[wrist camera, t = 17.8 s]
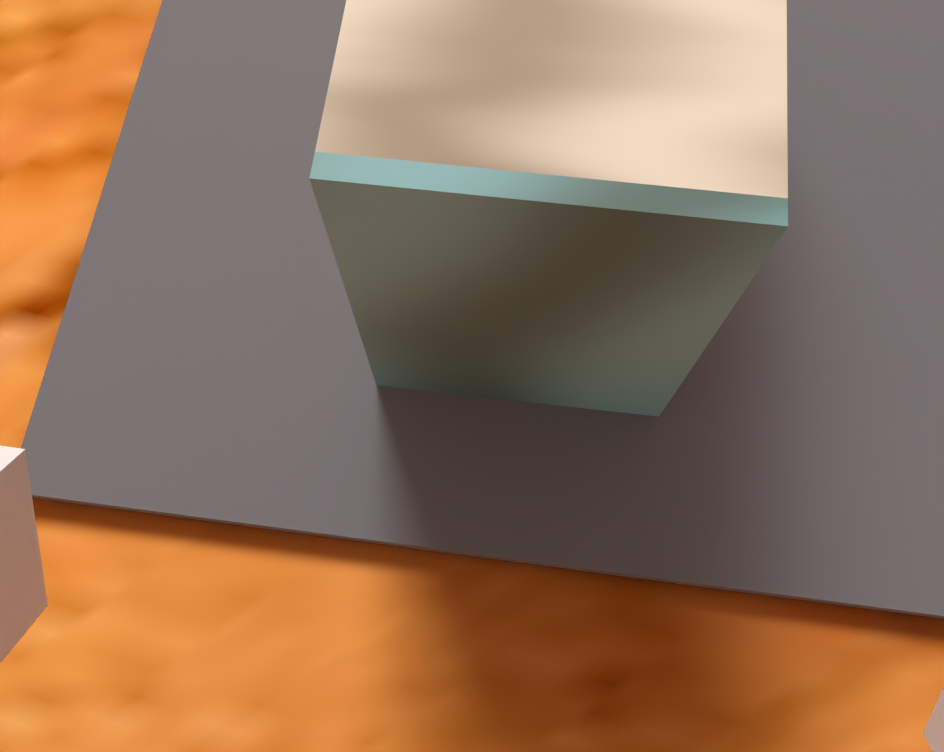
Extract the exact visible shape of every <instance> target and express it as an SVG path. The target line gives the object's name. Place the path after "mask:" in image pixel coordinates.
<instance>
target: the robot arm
mask: <svg viewBox="0 0 944 752" xmlns="http://www.w3.org/2000/svg"><path fill="white" fill-rule="evenodd" d="M46 607H47V598H46V591H45V584H44V577H43V570H42V563H41V556H40V549H39V542H38V535H37V528H36V521H35V514H34V507H33V500H32V493H31V486H30V478H29V471H28V464H27V457H26V450H25V449H21V448H13V447H6V446H0V663H1V662H2V661H3V659H4V658H5V657H6V656H7V655H8V653H9V652H10V651H11V650H12V648H13V647H14V646H15V645H16V644H17V642H18V641H19V640H20V639H21V637H22V636H23V635H24V634H25V633H26V631H27V630H28V629H29V628H30V626H31V625H32V624H33V623H34V622H35V620H36V619H37V618H38V617H39V615H40V614H41V613H42V612H43V610H44V609H45V608H46ZM923 734H924V736H925V738H926V740H927V742H928V744H929V747H930V749H931V751H932V752H944V687H943V690H942V692H941V694H940V696H939V699H938V701H937V703H936V706H935V708H934V710H933V712H932V715H931V717H930V719H929V721H928V724H927V726H926V728H925V731H924V733H923Z"/></svg>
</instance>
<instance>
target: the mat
mask: <svg viewBox="0 0 944 752" xmlns="http://www.w3.org/2000/svg"><path fill="white" fill-rule="evenodd" d="M345 4H346V0H162V3H161V7H160V10H159V13H158V16H157V19H156V22H155V26H154V29H153V32H152V35H151V38H150V41H149V45H148V48H147V51H146V54H145V57H144V60H143V64H142V67H141V70H140V73H139V76H138V79H137V83H136V86H135V89H134V92H133V95H132V98H131V102H130V105H129V108H128V111H127V114H126V117H125V121H124V124H123V127H122V130H121V133H120V136H119V140H118V143H117V146H116V149H115V152H114V155H113V159H112V162H111V165H110V168H109V171H108V174H107V177H106V181H105V184H104V187H103V190H102V193H101V196H100V200H99V203H98V206H97V209H96V212H95V215H94V219H93V222H92V225H91V228H90V231H89V234H88V238H87V241H86V244H85V247H84V250H83V253H82V257H81V260H80V263H79V266H78V269H77V272H76V276H75V279H74V282H73V285H72V288H71V291H70V295H69V298H68V301H67V304H66V307H65V310H64V314H63V317H62V320H61V323H60V326H59V329H58V333H57V336H56V339H55V342H54V345H53V348H52V352H51V355H50V358H49V361H48V364H47V367H46V370H45V374H44V377H43V380H42V383H41V386H40V389H39V393H38V396H37V399H36V402H35V405H34V408H33V412H32V415H31V418H30V421H29V424H28V427H27V431H26V434H25V437H24V440H23V443H22V446H21V449H25V450H26V457H27V464H28V471H29V478H30V486H31V493H32V498H38V499H45V500H53V501H60V502H68V503H76V504H83V505H91V506H98V507H106V508H113V509H121V510H128V511H136V512H143V513H151V514H158V515H166V516H173V517H181V518H188V519H196V520H203V521H211V522H218V523H226V524H233V525H241V526H248V527H256V528H263V529H271V530H278V531H286V532H293V533H301V534H308V535H316V536H324V537H331V538H339V539H346V540H354V541H361V542H369V543H376V544H384V545H391V546H399V547H406V548H414V549H421V550H429V551H436V552H444V553H451V554H459V555H466V556H474V557H481V558H489V559H496V560H504V561H511V562H519V563H526V564H534V565H541V566H549V567H556V568H564V569H572V570H579V571H587V572H594V573H602V574H609V575H617V576H624V577H632V578H639V579H647V580H654V581H662V582H669V583H677V584H684V585H692V586H699V587H707V588H714V589H722V590H729V591H737V592H744V593H752V594H759V595H767V596H774V597H782V598H789V599H797V600H804V601H812V602H820V603H827V604H835V605H842V606H850V607H857V608H865V609H872V610H880V611H887V612H895V613H902V614H910V615H917V616H925V617H932V618H940V619H944V0H787V146H788V227H787V229H786V230H785V231H784V233H783V234H782V236H781V237H780V239H779V240H778V242H777V243H776V245H775V246H774V248H773V249H772V251H771V252H770V254H769V255H768V257H767V258H766V260H765V261H764V262H763V264H762V265H761V267H760V268H759V270H758V271H757V273H756V274H755V276H754V277H753V279H752V280H751V282H750V283H749V285H748V286H747V288H746V289H745V291H744V292H743V293H742V295H741V296H740V298H739V299H738V301H737V302H736V304H735V305H734V307H733V308H732V310H731V311H730V313H729V314H728V316H727V317H726V319H725V320H724V322H723V323H722V324H721V326H720V327H719V329H718V330H717V332H716V333H715V335H714V336H713V338H712V339H711V341H710V342H709V344H708V345H707V347H706V348H705V350H704V351H703V353H702V354H701V355H700V357H699V358H698V360H697V361H696V363H695V364H694V366H693V367H692V369H691V370H690V372H689V373H688V375H687V376H686V378H685V379H684V381H683V382H682V383H681V385H680V386H679V388H678V389H677V391H676V392H675V394H674V395H673V397H672V398H671V400H670V401H669V403H668V404H667V406H666V407H665V409H664V410H663V412H662V413H661V414H660V416H659V417H658V416H649V415H640V414H631V413H622V412H613V411H604V410H595V409H586V408H577V407H568V406H558V405H549V404H540V403H531V402H522V401H513V400H504V399H495V398H486V397H477V396H468V395H459V394H449V393H440V392H431V391H422V390H413V389H404V388H395V387H386V386H377V385H376V383H375V379H374V376H373V373H372V370H371V367H370V364H369V361H368V358H367V355H366V352H365V349H364V345H363V342H362V339H361V336H360V333H359V330H358V327H357V324H356V321H355V318H354V315H353V312H352V308H351V305H350V302H349V299H348V296H347V293H346V290H345V287H344V284H343V281H342V278H341V275H340V271H339V268H338V265H337V262H336V259H335V256H334V253H333V250H332V247H331V244H330V241H329V237H328V234H327V231H326V228H325V225H324V222H323V219H322V216H321V213H320V210H319V207H318V204H317V200H316V197H315V194H314V191H313V188H312V185H311V182H310V179H309V178H310V173H311V168H312V163H313V158H314V153H315V149H316V144H317V139H318V134H319V129H320V125H321V120H322V115H323V110H324V105H325V101H326V96H327V91H328V86H329V81H330V77H331V72H332V67H333V62H334V57H335V53H336V48H337V43H338V38H339V33H340V28H341V24H342V19H343V14H344V9H345Z"/></svg>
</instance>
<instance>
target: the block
mask: <svg viewBox="0 0 944 752" xmlns="http://www.w3.org/2000/svg"><path fill="white" fill-rule="evenodd" d="M309 179H310V182H311V185H312V188H313V191H314V194H315V197H316V200H317V204H318V207H319V210H320V213H321V216H322V219H323V222H324V225H325V228H326V231H327V234H328V237H329V241H330V244H331V247H332V250H333V253H334V256H335V259H336V262H337V265H338V268H339V271H340V275H341V278H342V281H343V284H344V287H345V290H346V293H347V296H348V299H349V302H350V305H351V308H352V312H353V315H354V318H355V321H356V324H357V327H358V330H359V333H360V336H361V339H362V342H363V345H364V349H365V352H366V355H367V358H368V361H369V364H370V367H371V370H372V373H373V376H374V379H375V383H376V385H377V386H386V387H395V388H404V389H413V390H422V391H431V392H440V393H449V394H459V395H468V396H477V397H486V398H495V399H504V400H513V401H522V402H531V403H540V404H549V405H558V406H568V407H577V408H586V409H595V410H604V411H613V412H622V413H631V414H640V415H649V416H658V417H659V416H660V414H661V413H662V412H663V410H664V409H665V407H666V406H667V404H668V403H669V401H670V400H671V398H672V397H673V395H674V394H675V392H676V391H677V389H678V388H679V386H680V385H681V383H682V382H683V381H684V379H685V378H686V376H687V375H688V373H689V372H690V370H691V369H692V367H693V366H694V364H695V363H696V361H697V360H698V358H699V357H700V355H701V354H702V353H703V351H704V350H705V348H706V347H707V345H708V344H709V342H710V341H711V339H712V338H713V336H714V335H715V333H716V332H717V330H718V329H719V327H720V326H721V324H722V323H723V322H724V320H725V319H726V317H727V316H728V314H729V313H730V311H731V310H732V308H733V307H734V305H735V304H736V302H737V301H738V299H739V298H740V296H741V295H742V293H743V292H744V291H745V289H746V288H747V286H748V285H749V283H750V282H751V280H752V279H753V277H754V276H755V274H756V273H757V271H758V270H759V268H760V267H761V265H762V264H763V262H764V261H765V260H766V258H767V257H768V255H769V254H770V252H771V251H772V249H773V248H774V246H775V245H776V243H777V242H778V240H779V239H780V237H781V236H782V234H783V233H784V231H785V230H786V229H787V227H788V146H787V0H346V4H345V9H344V14H343V19H342V24H341V28H340V33H339V38H338V43H337V48H336V53H335V57H334V62H333V67H332V72H331V77H330V81H329V86H328V91H327V96H326V101H325V105H324V110H323V115H322V120H321V125H320V129H319V134H318V139H317V144H316V149H315V153H314V158H313V163H312V168H311V173H310V178H309Z"/></svg>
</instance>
